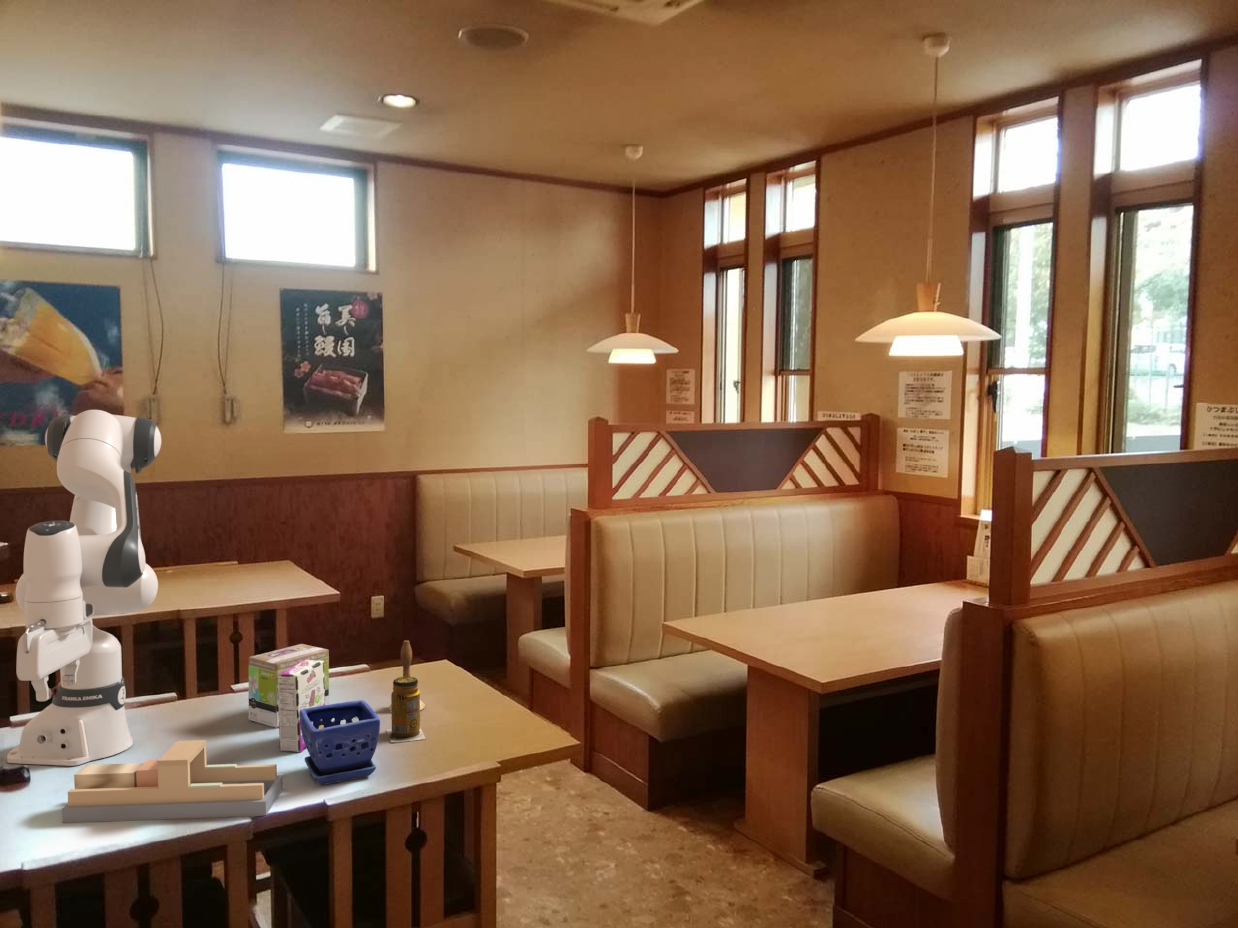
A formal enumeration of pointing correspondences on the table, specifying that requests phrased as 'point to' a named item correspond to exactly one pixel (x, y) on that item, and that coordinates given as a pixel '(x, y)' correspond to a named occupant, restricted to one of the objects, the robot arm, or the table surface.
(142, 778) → the terracotta cube
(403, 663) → the hand bell
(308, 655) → the tea box
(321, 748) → the flower pot
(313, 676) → the candy bar box
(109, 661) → the robot arm
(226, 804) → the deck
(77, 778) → the maple bar
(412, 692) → the condiment
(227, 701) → the table surface
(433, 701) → the table surface
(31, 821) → the table surface
